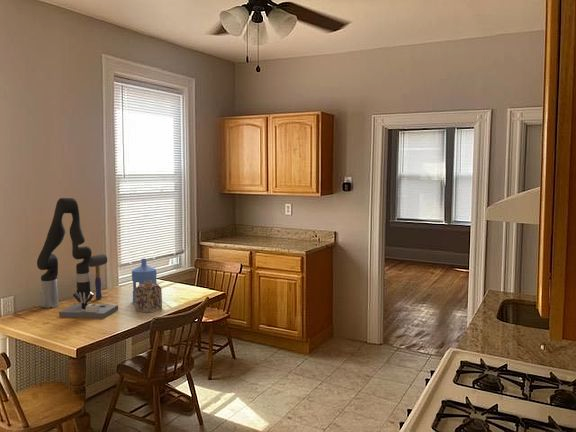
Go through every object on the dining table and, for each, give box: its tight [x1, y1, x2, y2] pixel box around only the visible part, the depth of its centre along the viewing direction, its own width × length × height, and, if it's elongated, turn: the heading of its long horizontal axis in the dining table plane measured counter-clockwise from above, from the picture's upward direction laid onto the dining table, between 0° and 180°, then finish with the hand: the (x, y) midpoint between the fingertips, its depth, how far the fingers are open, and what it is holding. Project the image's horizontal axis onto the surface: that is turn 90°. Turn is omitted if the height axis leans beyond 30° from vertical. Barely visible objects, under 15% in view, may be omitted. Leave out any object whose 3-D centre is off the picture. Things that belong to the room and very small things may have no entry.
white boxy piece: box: [86, 303, 100, 312], centre depth 299 cm, size 6×5×4 cm
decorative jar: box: [134, 281, 163, 314], centre depth 311 cm, size 12×12×18 cm
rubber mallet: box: [89, 253, 108, 300], centre depth 337 cm, size 12×8×30 cm, turn 152°
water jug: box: [131, 258, 158, 304], centre depth 331 cm, size 16×16×28 cm
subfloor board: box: [58, 303, 119, 319], centre depth 305 cm, size 28×18×3 cm, turn 82°
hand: (84, 309), depth 299 cm, fingers closed
